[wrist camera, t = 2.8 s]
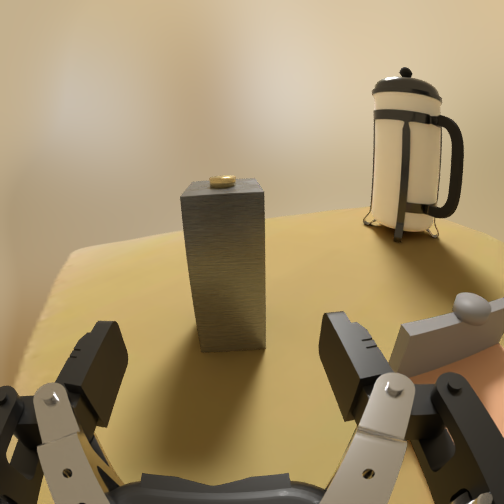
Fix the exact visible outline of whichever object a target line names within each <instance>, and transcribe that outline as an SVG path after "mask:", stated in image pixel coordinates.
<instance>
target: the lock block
mask: <svg viewBox="0 0 504 504" xmlns="http://www.w3.org/2000/svg"><path fill="white" fill-rule="evenodd" d="M209 180H210V181H198V182H192V183H191V184H190V185H189V187H188V188H187V189H186V190H185V191H184V193H183V194H182V195H181V196H180V200H181V211H182V220H183V230H184V239H185V247H186V256H187V263H188V271H189V278H190V285H191V292H192V299H193V305H194V312H195V318H196V324H197V330H198V336H199V341H200V347H201V352H222V351H241V350H256V349H266V303H265V216H264V215H265V212H264V191H263V189H262V188H261V186H260V185H259V183H258V182H257V180H256V179H255V178H250V179H236V177H235V176H215V177H210V178H209Z"/></svg>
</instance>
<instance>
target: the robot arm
mask: <svg viewBox="0 0 504 504" xmlns="http://www.w3.org/2000/svg"><path fill="white" fill-rule="evenodd" d="M319 355H320V359H321V362H322V364H323V367H324V369H325V372H326V374H327V377H328V380H329V382H330V385H331V387H332V390H333V392H334V395H335V398H336V400H337V403H338V406H339V408H340V411H341V413H342V416H343V419H344V421H345V422H346V421H350V420H355V422H356V424H357V427H356V429H355V431H354V433H353V435H352V438H351V440H350V442H349V444H348V446H347V448H346V450H345V452H344V454H343V456H342V458H341V460H340V462H339V464H338V466H337V468H336V470H335V472H334V474H333V475H332V477H331V479H330V481H329V483H328V484H327V486H326V488H325V489H322V488H320V487H317V486H315V485H312V484H308V483H304V482H298V481H290V478H289V473H286V474H277V475H268V476H257V477H250V478H246V479H242V480H238V481H234V482H230V483H226V484H222V485H217V486H210V485H205V484H201V483H197V482H193V481H189V480H186V479H182V478H179V477H173V476H162V475H153V474H145V473H142V477H141V481H138V482H133V483H129V484H124V483H123V481H122V480H121V479H120V478H119V476H118V475H117V474H116V472H115V470H114V469H113V467H112V465H111V463H110V461H109V460H108V458H107V456H106V454H105V452H104V450H103V448H102V446H101V444H100V442H99V440H98V437H97V435H96V434H95V432H94V431H95V428H96V426H100V427H106V428H107V426H108V422H109V419H110V416H111V413H112V409H113V406H114V403H115V400H116V397H117V394H118V391H119V388H120V385H121V382H122V379H123V376H124V373H125V371H126V368H127V365H128V353H127V349H126V346H125V344H124V341H123V338H122V335H121V332H120V328H119V325H118V323H117V322H116V321H98V322H97V323H96V324H95V326H94V328H93V329H92V331H91V333H87V334H85V335H84V336H83V337H82V338H81V339H80V340H79V341H78V342H77V344H76V346H75V347H74V351H72V353H71V354H70V358H68V360H67V361H66V363H65V365H64V367H63V369H62V370H61V372H60V374H59V376H58V378H57V380H56V381H55V383H47V384H45V385H43V386H41V387H40V388H39V389H38V390H37V391H36V393H35V395H34V396H19V395H18V393H17V392H16V391H15V389H14V388H13V387H11V386H2V387H0V504H37V501H38V496H39V491H40V487H41V483H42V479H43V475H45V478H46V481H47V484H48V487H49V490H50V492H51V495H52V498H53V500H54V503H55V504H387V503H388V501H389V498H390V496H391V493H392V491H393V488H394V485H395V482H396V480H397V477H398V474H399V471H400V468H401V465H402V462H403V458H404V455H405V452H406V448H407V441H406V440H410V441H411V443H412V446H413V448H414V450H415V453H416V455H417V458H418V460H419V463H420V465H421V468H422V470H423V473H424V475H425V478H426V481H427V483H428V486H429V489H430V491H431V494H432V497H433V500H434V503H435V504H504V438H503V436H502V434H501V432H500V431H499V429H498V427H497V426H496V424H495V422H494V421H493V419H492V417H491V416H490V414H489V413H488V411H487V410H486V408H485V406H484V405H483V403H482V402H481V400H480V399H479V397H478V396H477V394H476V393H475V391H474V390H473V388H472V387H471V385H470V384H469V382H468V381H467V380H466V379H465V378H464V377H463V376H462V375H460V374H457V373H454V372H447V373H443V374H442V375H440V376H439V377H438V379H437V381H436V382H435V384H413V382H412V381H411V380H410V379H409V378H408V377H407V376H405V375H403V374H400V373H394V372H393V370H392V368H391V367H390V365H389V364H388V362H387V360H386V359H385V357H384V356H383V354H382V352H381V351H380V349H379V348H378V347H377V345H376V343H375V342H374V340H372V337H371V335H370V334H369V332H368V331H367V329H365V328H364V327H363V326H361V325H360V324H359V323H357V322H354V323H351V322H350V320H349V319H348V317H347V315H346V314H345V312H343V311H340V312H331V313H324V315H323V318H322V326H321V333H320V339H319ZM13 434H14V436H15V437H16V438H17V439H18V442H17V445H16V447H15V450H14V453H13V456H12V459H11V462H10V464H9V463H8V461H7V458H6V452H7V449H8V446H9V443H10V441H11V438H12V435H13ZM450 435H451V436H450ZM451 437H452V438H451ZM452 439H453V440H452ZM453 441H454V442H453Z"/></svg>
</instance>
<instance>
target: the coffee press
mask: <svg viewBox="0 0 504 504" xmlns="http://www.w3.org/2000/svg"><path fill="white" fill-rule="evenodd" d="M400 74H401V76H402V77H389V78H384V79H382V80H380V81H379V82H377V84H376V85H375V89H373V90H372V95H373V97H374V99H375V110H374V157H373V179H372V196H371V206H370V212H371V210H372V216H373V218H374V220H373V221H371V222H370V223H368V222H366V221H365V218H366V217H367V216H368V214H369V213H370V212H369V213H368V214H367V215H366V217H365V218H364V219H363V222H364V224H365V225H369V224H371V223H372V222H374V221H377V222H378V223H380V224H382V225H384V226H387V227H390V228H393V229H395V234H394V241H397V242H401V241H402V235H403V231H411V232H418V231H425V230H426V231H428V232H429V233H430V235H431V236H432V237H433V238H437V237H438V236H439V232H438V229H437V226H436V224H435V218H447V217H449V216H451V215H452V214H453V213H454V212H455V210H456V208H457V206H458V203H459V198H460V193H461V185H462V175H463V174H462V173H463V158H464V146H463V138H462V134H461V131H460V129H459V127H458V125H457V124H456V123H455V122H454V121H453V120H452V119H450V118H448V117H445V116H442V115H440V106H441V104H442V98H441V97H440V96H439V94H438V91H437V90H436V89H435V87H433V86H432V85H431V84H429V83H427V82H425V81H422V80H419V79H415V78H411V76H412V72H411V71H410V69H408V68H406V67H404V68H402V69H401V70H400ZM442 127H444V128H446V129H447V131H448V132H449V134H450V137H451V141H452V158H451V173H450V185H449V194H448V199H447V201H446V203H445V205H444V206H443V207H441V208H439V207H437V200H438V191H439V181H440V167H441V147H442ZM440 134H441V140H440ZM439 163H440V165H439ZM438 177H439V179H438ZM437 188H438V190H437ZM436 198H437V199H436ZM433 220H434V224H435V227H436V229H437V232H438V234H437V235H433V234H432V233H431V232H430V230H429V228H430V227H431V226H432V224H433Z"/></svg>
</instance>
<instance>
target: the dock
mask: <svg viewBox="0 0 504 504" xmlns="http://www.w3.org/2000/svg"><path fill="white" fill-rule="evenodd" d="M503 333H504V297H503V298H500V299H497V300H494V301H491V302H488V301H487V300H485V299H484V298H483V297H481V296H479V295H476V294H473V293H468V292H464V293H460V294H458V295H457V296H456V299H455V302H454V305H453V312H452V313H448V314H444V315H440V316H436V317H432V318H428V319H423V320H419V321H414V322H410V323H405V324H401V327H400V330H399V333H398V336H397V339H396V343H395V346H394V349H393V351H392V354H391V357H390V360H389V363H388V364H389V365H390V367H391V368H392V370H393V372H394V373H400V374H403V375H405V376H407V377H408V378H409V379H410V380H411V381H412V382H413V384H435V382H436V381H437V379H438V377H439V376H440V375H442V374H443V373H447V372H454V373H457V374H460V375H462V376H463V377H464V378H465V379H466V380H467V381H468V382H469V384H470V385H471V387H472V388H473V390H474V391H475V393H476V394H477V396H478V397H479V399H480V400H481V402H482V403H483V405H484V406H485V408H486V410H487V411H488V413H489V414H490V416H491V417H492V419H493V421H494V422H495V424H496V426H497V427H498V429H499V431H500V432H501V434H502V436H503V438H504V348H503V347H502V346H501V345H500V344H499V341H500V339H501V337H502V335H503ZM450 436H451V435H450ZM451 438H452V437H451ZM452 440H453V439H452ZM453 442H454V441H453Z"/></svg>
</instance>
